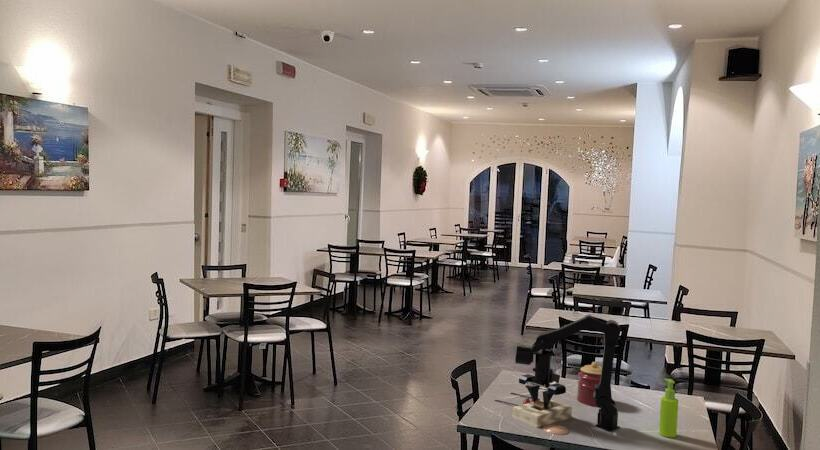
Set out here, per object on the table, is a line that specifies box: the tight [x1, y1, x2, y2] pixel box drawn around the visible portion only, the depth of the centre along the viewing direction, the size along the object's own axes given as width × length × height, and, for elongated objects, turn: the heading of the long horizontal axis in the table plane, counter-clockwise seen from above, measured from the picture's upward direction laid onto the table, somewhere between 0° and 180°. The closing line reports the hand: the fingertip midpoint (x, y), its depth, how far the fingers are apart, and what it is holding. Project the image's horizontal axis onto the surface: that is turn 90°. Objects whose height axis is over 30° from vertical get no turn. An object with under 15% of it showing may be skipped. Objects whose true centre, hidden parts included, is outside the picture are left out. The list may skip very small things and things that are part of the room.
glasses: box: [493, 392, 541, 406], centre depth 262 cm, size 14×16×5 cm
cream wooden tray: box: [512, 399, 573, 428], centre depth 244 cm, size 20×12×5 cm, turn 128°
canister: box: [576, 361, 602, 408], centre depth 266 cm, size 13×13×18 cm
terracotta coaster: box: [542, 423, 569, 436], centre depth 232 cm, size 9×9×1 cm
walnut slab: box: [533, 400, 549, 411], centre depth 244 cm, size 8×4×2 cm
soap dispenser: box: [658, 378, 679, 438], centre depth 233 cm, size 6×7×20 cm
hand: (540, 406), depth 243 cm, fingers closed on walnut slab, 4 cm apart
